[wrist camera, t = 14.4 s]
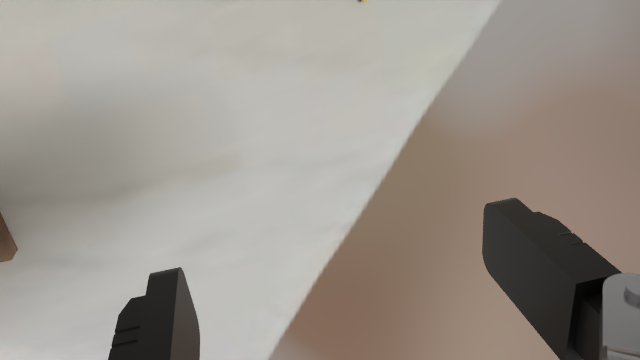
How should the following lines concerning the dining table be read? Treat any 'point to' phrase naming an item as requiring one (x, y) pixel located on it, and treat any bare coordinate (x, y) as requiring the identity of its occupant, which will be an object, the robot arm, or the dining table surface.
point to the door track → (6, 243)
